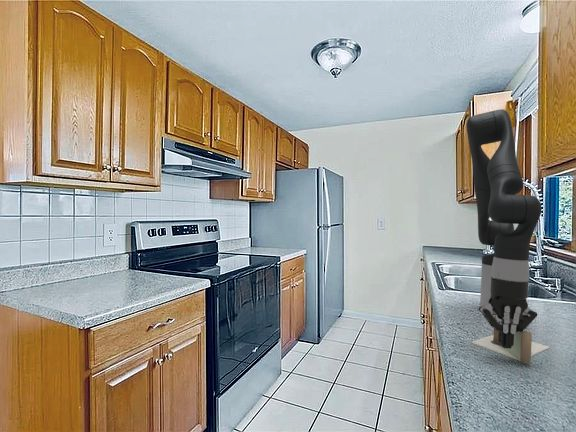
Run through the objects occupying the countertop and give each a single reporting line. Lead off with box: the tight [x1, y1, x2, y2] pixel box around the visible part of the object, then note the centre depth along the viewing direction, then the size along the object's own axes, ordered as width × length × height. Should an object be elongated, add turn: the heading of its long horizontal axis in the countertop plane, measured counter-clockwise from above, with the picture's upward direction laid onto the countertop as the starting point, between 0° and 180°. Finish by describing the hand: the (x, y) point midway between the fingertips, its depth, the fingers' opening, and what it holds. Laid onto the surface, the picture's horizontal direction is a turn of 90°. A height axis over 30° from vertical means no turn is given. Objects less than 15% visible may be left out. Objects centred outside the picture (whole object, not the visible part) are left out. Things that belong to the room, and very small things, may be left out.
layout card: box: [471, 334, 550, 362], centre depth 87 cm, size 16×12×1 cm
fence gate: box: [506, 330, 533, 364], centre depth 81 cm, size 11×2×7 cm, turn 174°
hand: (505, 347), depth 79 cm, fingers closed
